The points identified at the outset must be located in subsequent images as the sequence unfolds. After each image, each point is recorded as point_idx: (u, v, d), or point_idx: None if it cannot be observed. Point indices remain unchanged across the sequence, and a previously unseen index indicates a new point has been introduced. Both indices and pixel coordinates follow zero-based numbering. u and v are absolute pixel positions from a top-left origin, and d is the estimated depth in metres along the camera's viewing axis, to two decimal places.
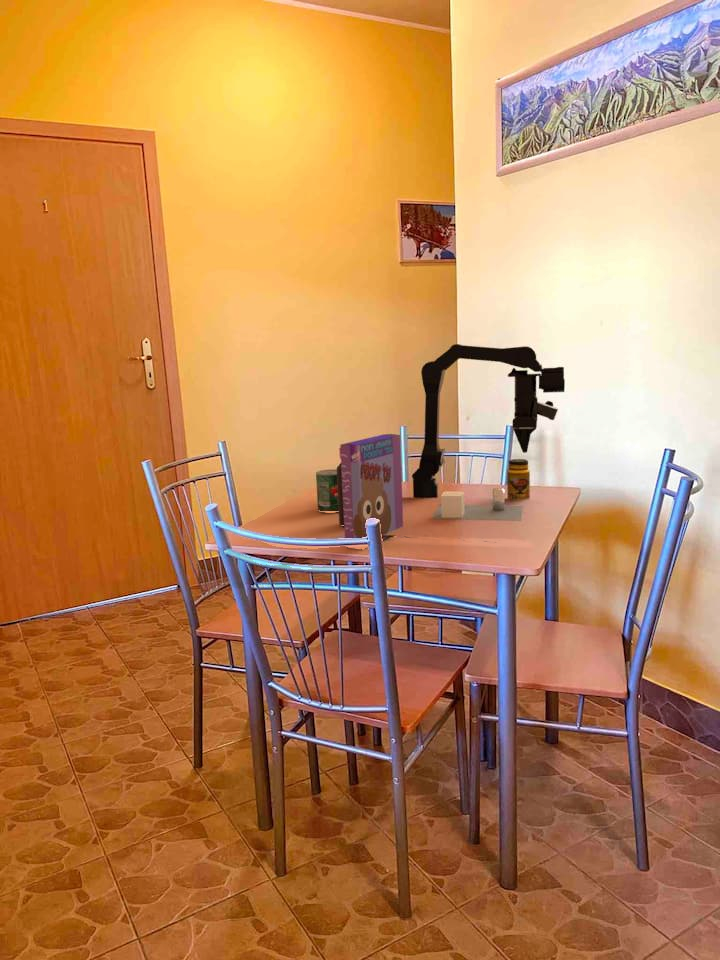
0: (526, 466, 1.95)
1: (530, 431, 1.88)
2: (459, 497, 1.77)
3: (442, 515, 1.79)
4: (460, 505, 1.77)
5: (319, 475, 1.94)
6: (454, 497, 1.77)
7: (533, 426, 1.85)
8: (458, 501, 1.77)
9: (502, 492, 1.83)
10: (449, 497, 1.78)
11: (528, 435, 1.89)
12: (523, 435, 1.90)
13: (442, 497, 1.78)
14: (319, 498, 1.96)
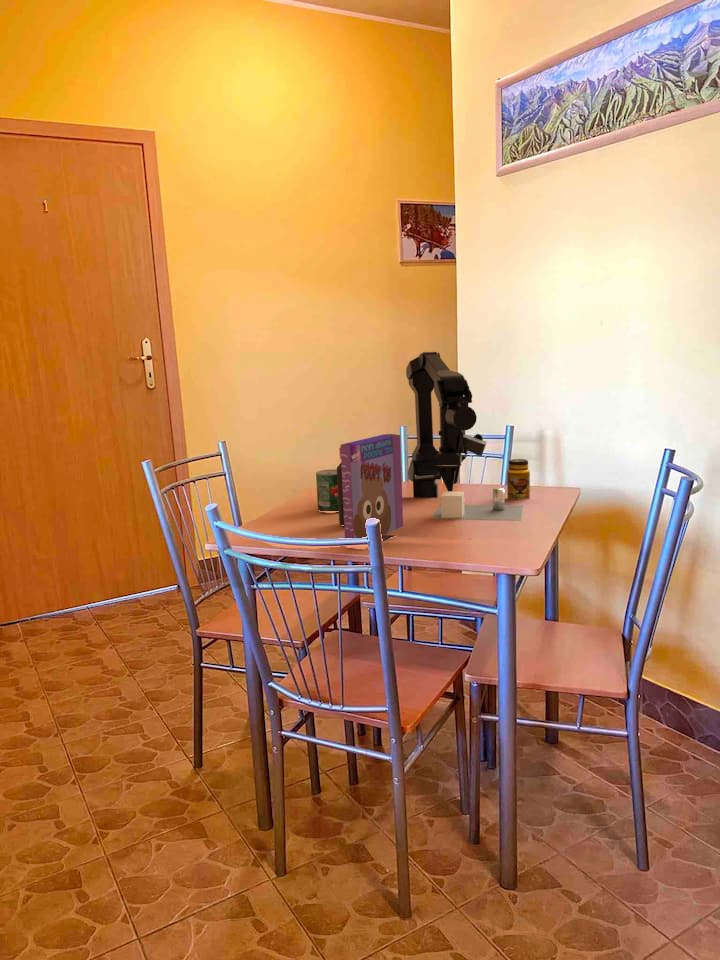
0: (526, 466, 1.95)
1: (454, 468, 1.72)
2: (459, 497, 1.77)
3: (442, 515, 1.79)
4: (460, 505, 1.77)
5: (319, 475, 1.94)
6: (454, 497, 1.77)
7: (456, 464, 1.69)
8: (458, 501, 1.77)
9: (502, 492, 1.83)
10: (449, 497, 1.78)
11: (452, 473, 1.73)
12: (447, 472, 1.73)
13: (442, 497, 1.78)
14: (319, 498, 1.96)
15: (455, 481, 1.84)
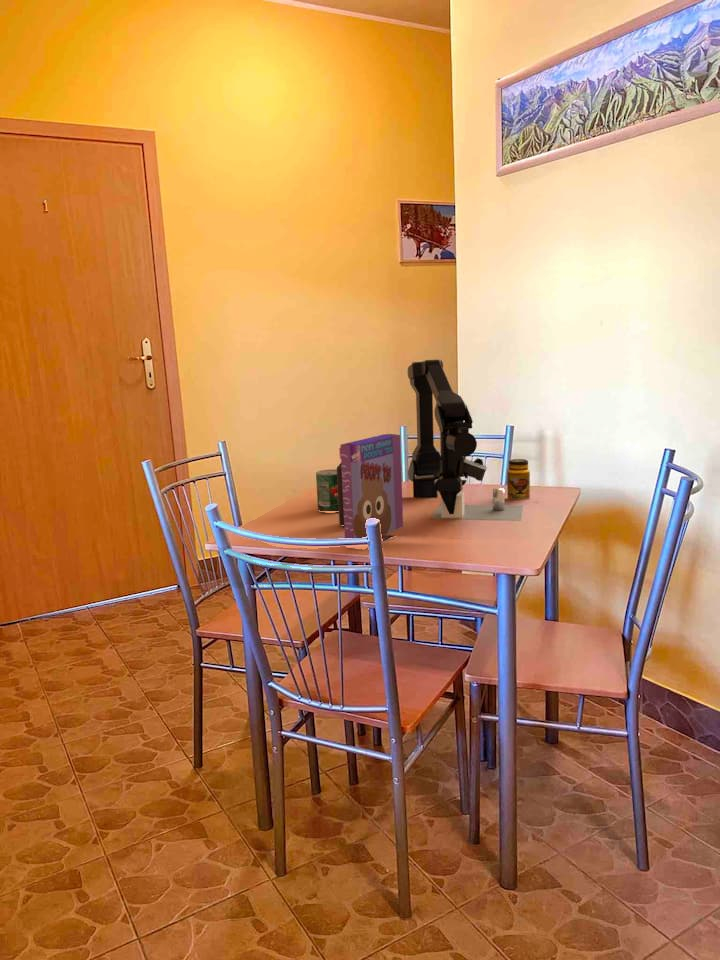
0: (526, 466, 1.95)
1: (456, 492, 1.75)
2: (459, 497, 1.77)
3: (442, 515, 1.79)
4: (460, 505, 1.77)
5: (319, 475, 1.94)
6: None
7: (457, 489, 1.70)
8: (458, 501, 1.77)
9: (502, 492, 1.83)
10: None
11: (454, 496, 1.75)
12: (449, 496, 1.76)
13: None
14: (319, 498, 1.96)
15: None
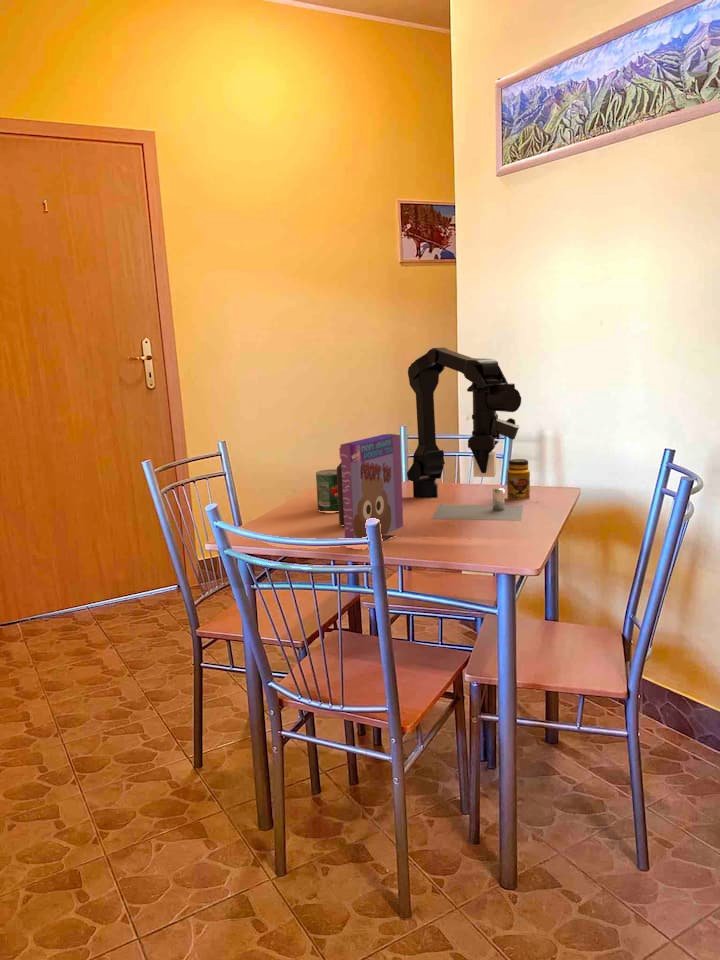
0: (526, 466, 1.95)
1: (488, 450, 1.75)
2: (491, 456, 1.78)
3: (474, 474, 1.80)
4: (492, 464, 1.78)
5: (319, 475, 1.94)
6: None
7: (490, 446, 1.71)
8: (490, 460, 1.78)
9: (502, 492, 1.83)
10: None
11: (486, 455, 1.76)
12: (481, 454, 1.77)
13: None
14: (319, 498, 1.96)
15: None
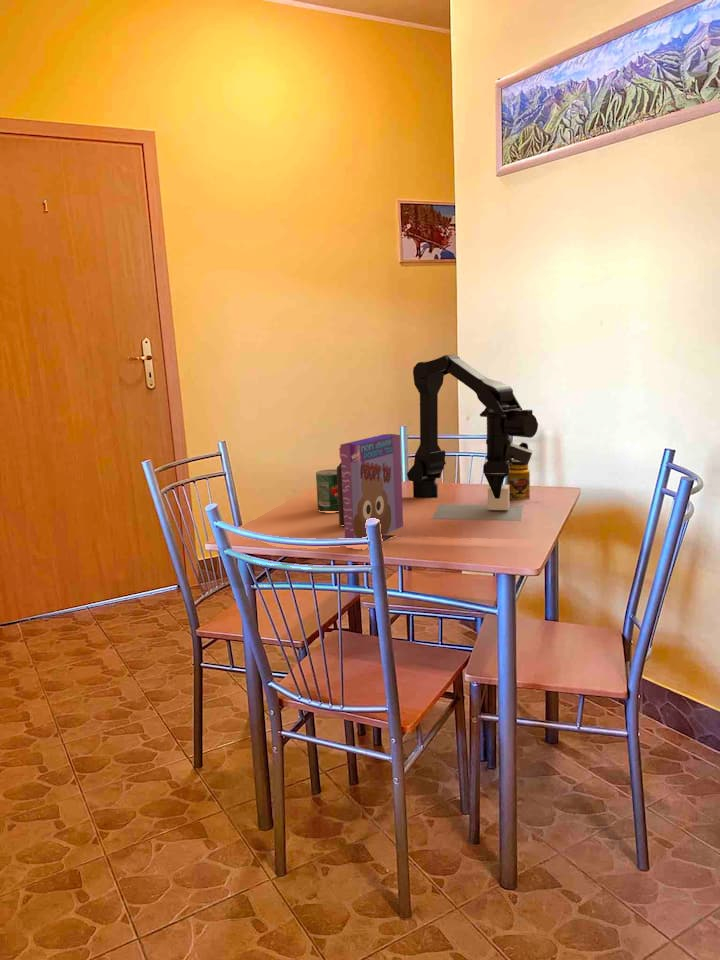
0: (526, 466, 1.95)
1: (502, 476, 1.76)
2: (506, 490, 1.81)
3: (488, 507, 1.83)
4: (506, 497, 1.81)
5: (319, 475, 1.94)
6: (501, 490, 1.81)
7: (505, 472, 1.73)
8: (505, 494, 1.81)
9: None
10: None
11: (500, 480, 1.77)
12: (495, 480, 1.78)
13: (489, 490, 1.82)
14: (319, 498, 1.96)
15: None
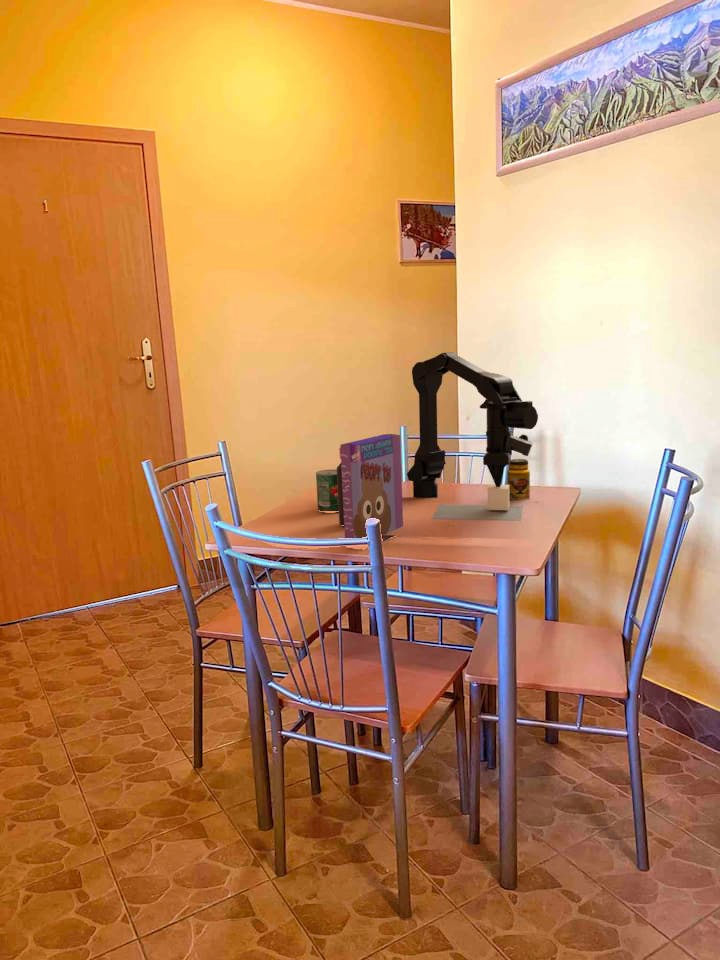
0: (526, 466, 1.95)
1: (503, 465, 1.80)
2: (506, 490, 1.81)
3: (488, 507, 1.83)
4: (506, 498, 1.81)
5: (319, 475, 1.94)
6: (501, 490, 1.81)
7: (505, 463, 1.73)
8: (505, 494, 1.81)
9: None
10: (496, 490, 1.81)
11: (501, 469, 1.81)
12: (496, 469, 1.82)
13: (489, 490, 1.82)
14: (319, 498, 1.96)
15: None
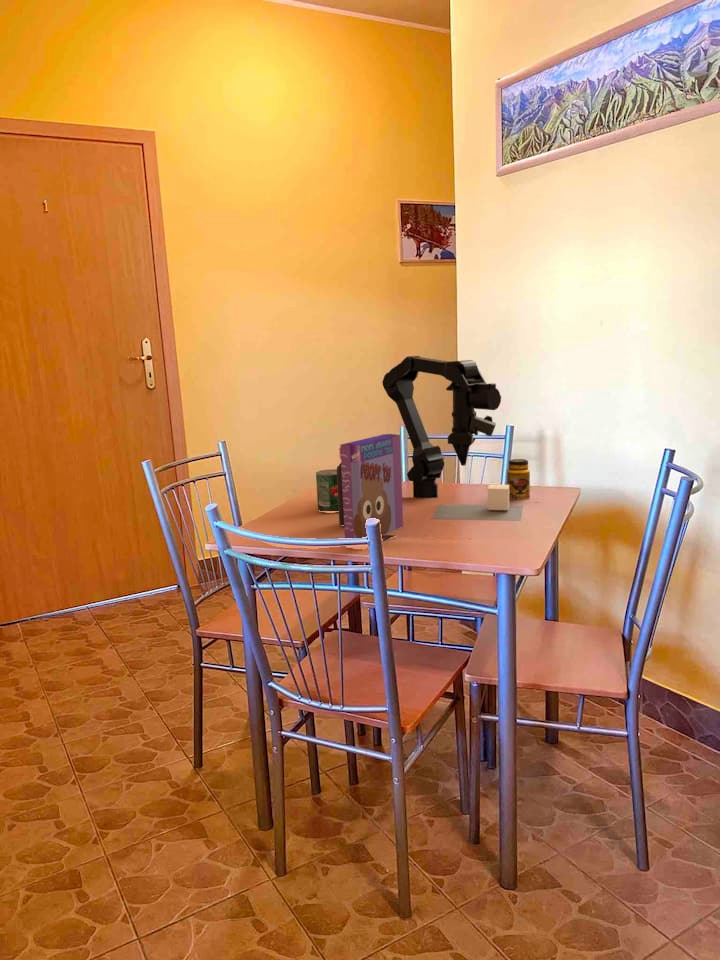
0: (526, 466, 1.95)
1: (468, 445, 1.89)
2: (506, 490, 1.81)
3: (488, 507, 1.83)
4: (506, 498, 1.81)
5: (319, 475, 1.94)
6: (501, 490, 1.81)
7: (468, 443, 1.82)
8: (505, 494, 1.81)
9: None
10: (496, 490, 1.81)
11: (466, 448, 1.90)
12: (461, 448, 1.91)
13: (489, 490, 1.82)
14: (319, 498, 1.96)
15: None
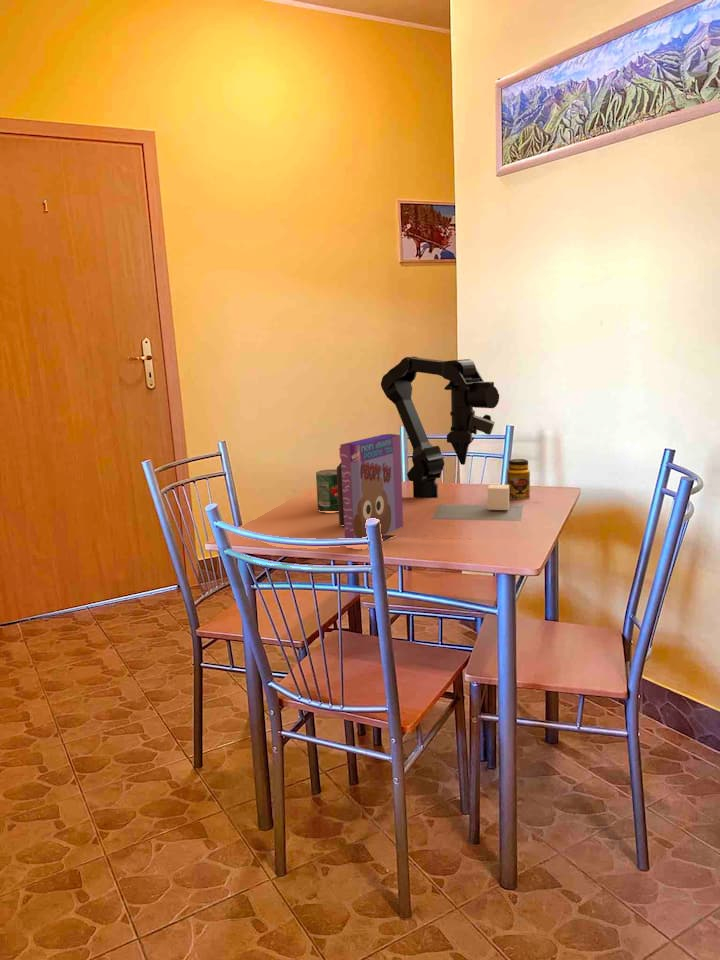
0: (526, 466, 1.95)
1: (467, 443, 1.89)
2: (506, 489, 1.81)
3: (488, 507, 1.83)
4: (507, 497, 1.81)
5: (319, 475, 1.94)
6: (501, 489, 1.81)
7: (467, 441, 1.82)
8: (505, 493, 1.81)
9: None
10: (496, 489, 1.81)
11: (465, 447, 1.90)
12: (460, 447, 1.91)
13: (489, 490, 1.82)
14: (319, 498, 1.96)
15: None
